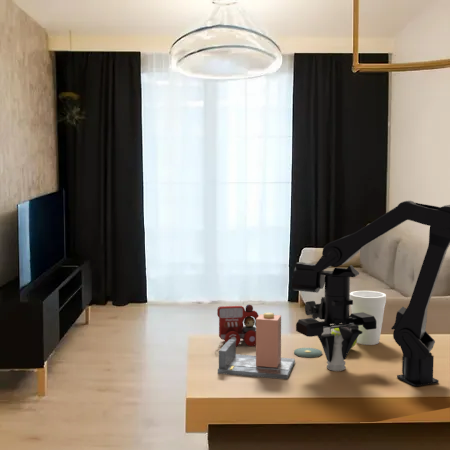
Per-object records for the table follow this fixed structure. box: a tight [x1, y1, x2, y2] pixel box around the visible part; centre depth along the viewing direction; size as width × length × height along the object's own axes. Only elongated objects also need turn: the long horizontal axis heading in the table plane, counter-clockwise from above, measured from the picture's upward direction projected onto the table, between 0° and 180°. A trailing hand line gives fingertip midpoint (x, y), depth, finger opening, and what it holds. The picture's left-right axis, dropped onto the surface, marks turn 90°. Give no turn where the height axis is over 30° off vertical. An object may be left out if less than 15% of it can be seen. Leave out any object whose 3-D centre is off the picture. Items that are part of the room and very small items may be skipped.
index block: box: [255, 312, 282, 368], centre depth 143 cm, size 5×5×12 cm
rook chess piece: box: [326, 334, 347, 372], centre depth 144 cm, size 4×4×8 cm
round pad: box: [293, 347, 323, 359], centre depth 156 cm, size 7×7×1 cm
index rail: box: [217, 339, 296, 380], centre depth 144 cm, size 16×12×5 cm
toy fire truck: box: [216, 304, 260, 347], centre depth 165 cm, size 7×12×10 cm, turn 100°
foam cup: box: [350, 290, 387, 346], centre depth 166 cm, size 10×9×13 cm
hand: (336, 360), depth 144 cm, fingers closed on rook chess piece, 3 cm apart
